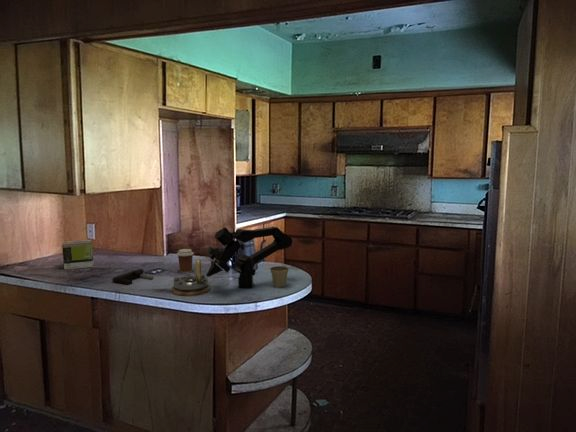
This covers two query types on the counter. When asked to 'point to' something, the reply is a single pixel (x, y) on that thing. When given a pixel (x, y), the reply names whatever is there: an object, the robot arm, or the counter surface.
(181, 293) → the base
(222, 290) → the counter surface
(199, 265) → the ring nut
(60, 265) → the counter surface
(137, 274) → the door handle
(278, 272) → the flower pot
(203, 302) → the counter surface
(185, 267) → the coffee cup
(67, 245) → the tea box
